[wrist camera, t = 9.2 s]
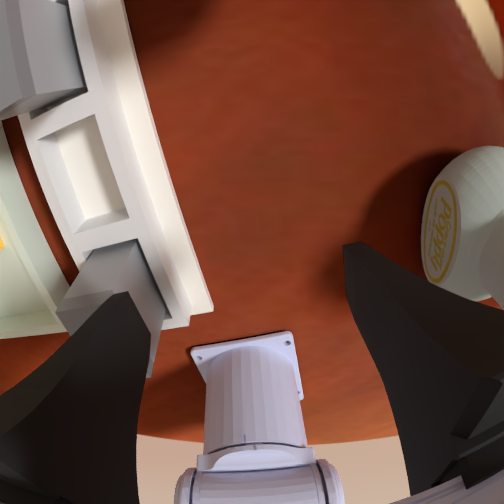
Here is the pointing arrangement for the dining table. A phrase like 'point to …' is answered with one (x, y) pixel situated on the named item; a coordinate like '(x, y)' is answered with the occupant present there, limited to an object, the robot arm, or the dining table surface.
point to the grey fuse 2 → (115, 289)
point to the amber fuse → (1, 244)
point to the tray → (25, 261)
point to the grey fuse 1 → (37, 56)
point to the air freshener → (467, 226)
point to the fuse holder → (114, 163)
